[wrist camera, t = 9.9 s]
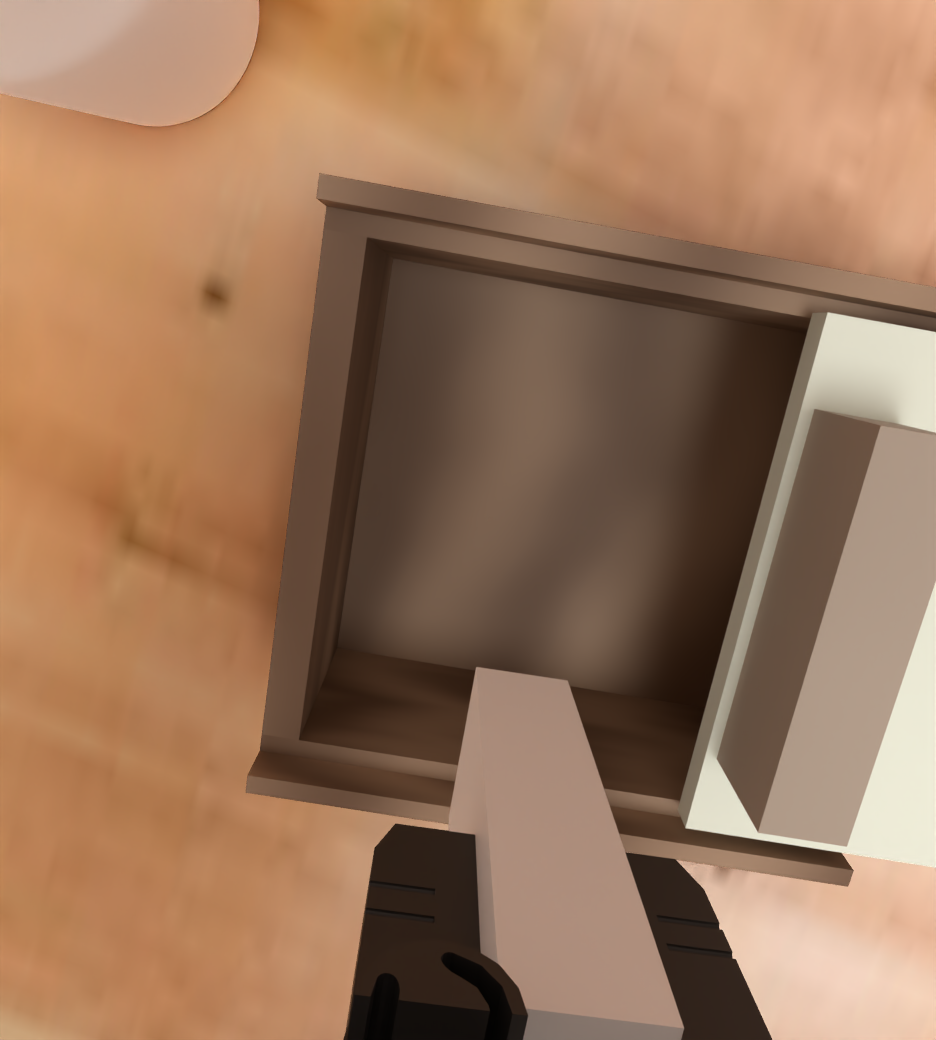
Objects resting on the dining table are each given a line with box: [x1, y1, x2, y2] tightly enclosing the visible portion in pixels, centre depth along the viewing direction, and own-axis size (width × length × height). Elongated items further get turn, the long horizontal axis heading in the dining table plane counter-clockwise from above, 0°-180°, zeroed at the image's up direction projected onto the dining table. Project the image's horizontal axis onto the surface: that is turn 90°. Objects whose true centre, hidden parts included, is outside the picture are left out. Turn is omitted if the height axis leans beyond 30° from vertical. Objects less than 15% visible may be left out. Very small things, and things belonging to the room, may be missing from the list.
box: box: [246, 173, 936, 886], centre depth 23 cm, size 16×15×8 cm
